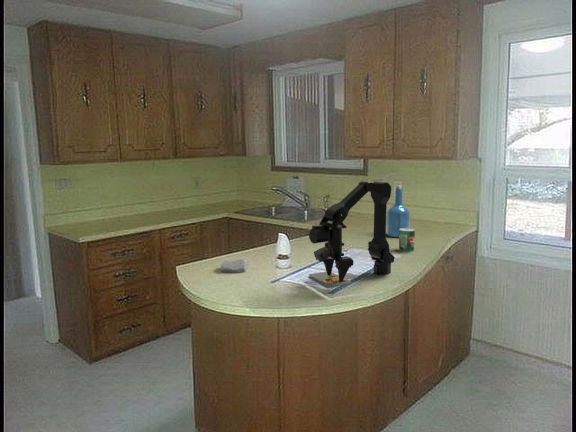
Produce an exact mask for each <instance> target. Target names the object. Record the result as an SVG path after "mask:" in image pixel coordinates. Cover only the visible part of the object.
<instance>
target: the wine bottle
mask: <svg viewBox="0 0 576 432" xmlns="http://www.w3.org/2000/svg"><path fill="white" fill-rule="evenodd" d="M394 194H395V195H394V196H395V199H394V204H393V205H392V206H391V207H389V208H388V211H386V234H387V235H386V236H388V237H391V238H399V229H401V228H411V227H410V226H411V225H410V224H411V219H410V218H411V211H410V209H409V208H408V207H407V206H404V204H403V188H402V185H396V187H395V193H394Z"/></svg>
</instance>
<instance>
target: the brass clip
mask: <svg viewBox="0 0 576 432" xmlns="http://www.w3.org/2000/svg"><path fill="white" fill-rule="evenodd" d="M328 282H329V283H331V284H335V283H341V282H339V276H338V274H337V273H335V275H328Z"/></svg>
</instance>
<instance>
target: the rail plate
mask: <svg viewBox="0 0 576 432" xmlns="http://www.w3.org/2000/svg"><path fill="white" fill-rule="evenodd" d="M335 274H336V273H335V272H331V275H335ZM337 275H338V274H337ZM338 276H339V275H338ZM308 277H309V278H310V279H312V280H314V281H316V282H318V283H320V284H321V285H322V286H325V287H326V288H328V289H329V288H335V287H341V286H343V287H344V286H347V285H351V284H352V281H351V280H350V279H345V278H344V279H343V281H342V282H341V283H335V284H331V283H329V282H328V275H327V272H326V271H321V272H315V273H309V274H308Z"/></svg>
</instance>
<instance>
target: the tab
mask: <svg viewBox="0 0 576 432" xmlns="http://www.w3.org/2000/svg"><path fill="white" fill-rule="evenodd" d="M344 278H345V279H347V280H351V279H357V278H359V276H358V275H355V274H353V273H351V272H347V273H346V275H345V277H344Z"/></svg>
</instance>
